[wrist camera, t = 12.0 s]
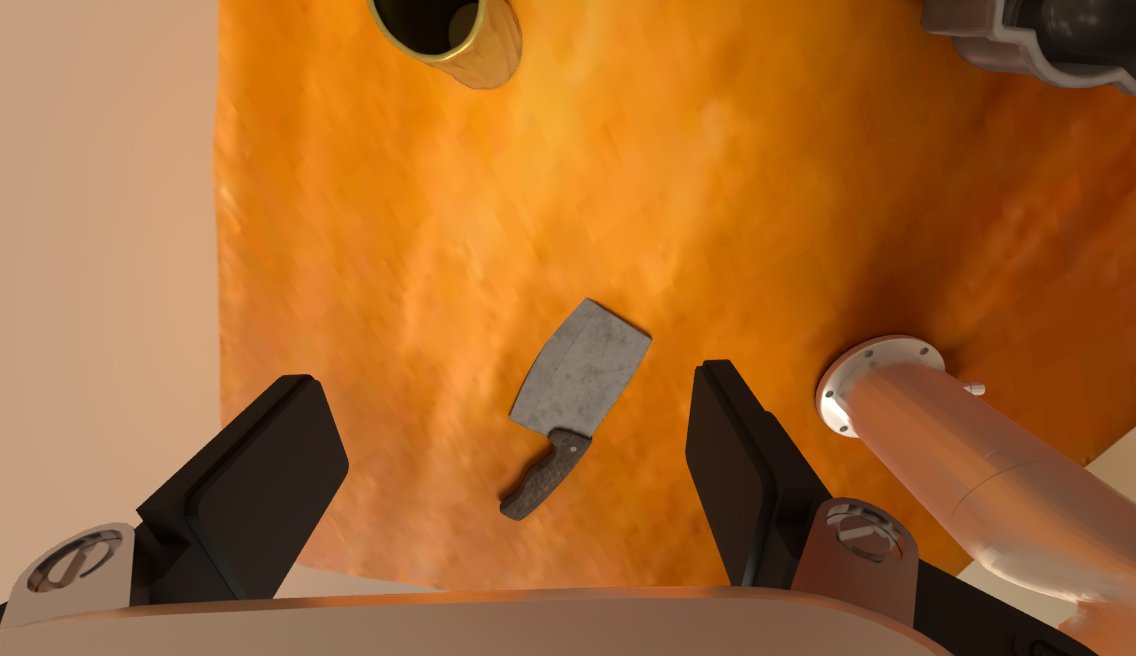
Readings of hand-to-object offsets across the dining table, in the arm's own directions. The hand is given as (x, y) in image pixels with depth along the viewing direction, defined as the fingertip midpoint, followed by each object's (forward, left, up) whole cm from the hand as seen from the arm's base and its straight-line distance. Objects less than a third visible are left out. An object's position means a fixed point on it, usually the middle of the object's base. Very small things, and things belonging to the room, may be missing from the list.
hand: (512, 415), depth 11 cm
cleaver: (0, +23, -29) cm, 37 cm away
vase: (+4, -12, -28) cm, 31 cm away
